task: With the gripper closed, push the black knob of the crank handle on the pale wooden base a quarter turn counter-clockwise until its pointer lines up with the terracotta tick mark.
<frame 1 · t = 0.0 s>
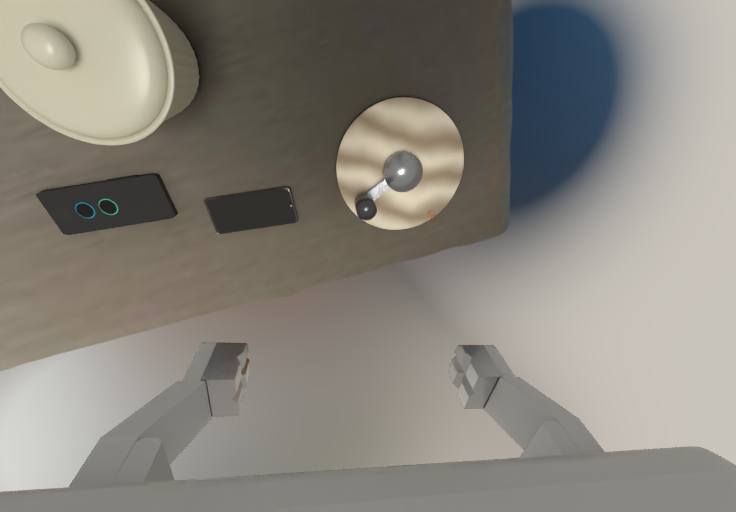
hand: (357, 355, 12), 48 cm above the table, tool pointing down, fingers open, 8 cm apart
smart home device: (114, 202, 54), on the table
smartphone: (253, 209, 57), on the table
crank handle: (388, 187, 53), point 5 cm above the table, hinge at 0.0°
canister: (155, 63, 44), on the table
dial base: (399, 168, 56), on the table
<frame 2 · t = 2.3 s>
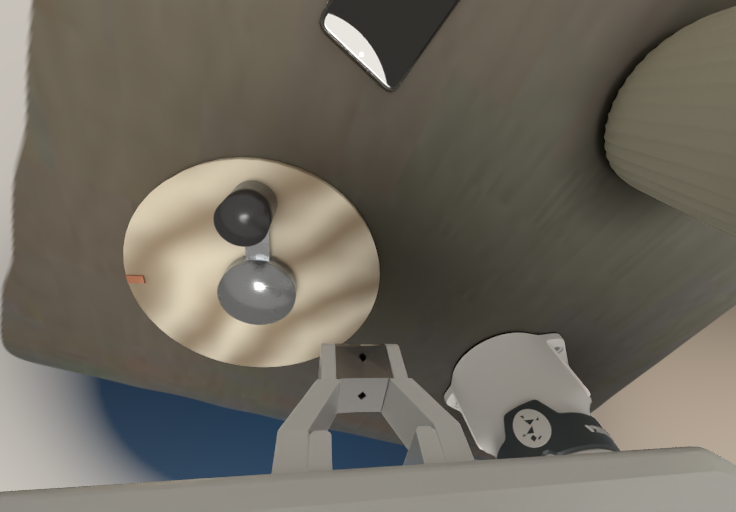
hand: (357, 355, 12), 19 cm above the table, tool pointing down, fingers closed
crank handle: (253, 268, 25), point 5 cm above the table, hinge at 0.0°
canister: (659, 109, 28), on the table
dial base: (264, 275, 31), on the table
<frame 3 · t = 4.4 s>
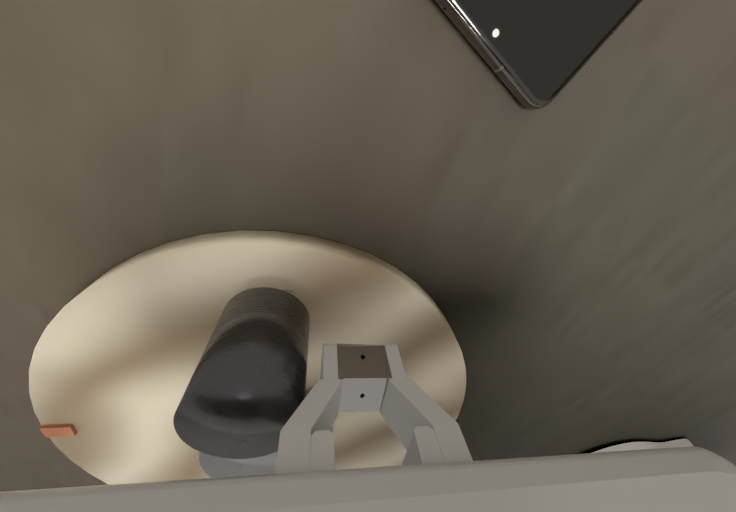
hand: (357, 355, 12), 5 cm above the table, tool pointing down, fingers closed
crank handle: (263, 437, 14), point 5 cm above the table, hinge at 0.0°, touching gripper
dial base: (278, 399, 19), on the table
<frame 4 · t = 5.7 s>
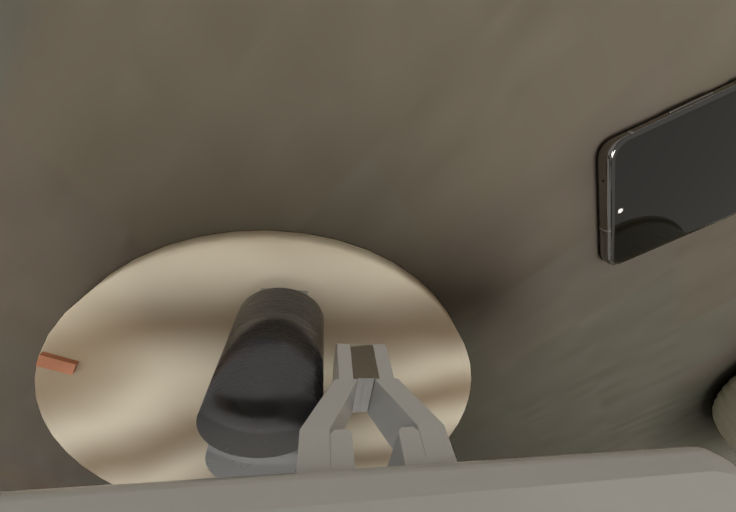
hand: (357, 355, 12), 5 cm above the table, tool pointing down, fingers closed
crank handle: (273, 436, 14), point 5 cm above the table, hinge at 25.7°, touching gripper
dial base: (282, 398, 19), on the table
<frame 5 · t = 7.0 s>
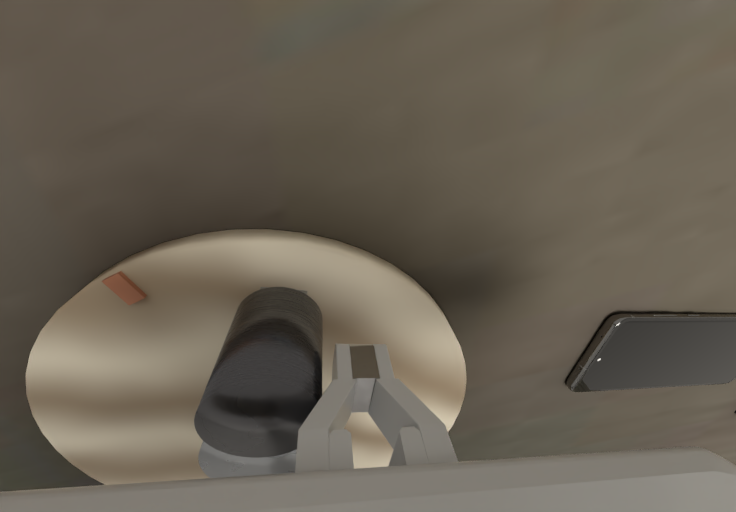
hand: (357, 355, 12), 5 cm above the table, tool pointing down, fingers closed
smartphone: (667, 344, 23), on the table
crank handle: (268, 436, 14), point 5 cm above the table, hinge at 55.1°, touching gripper
dial base: (277, 398, 19), on the table
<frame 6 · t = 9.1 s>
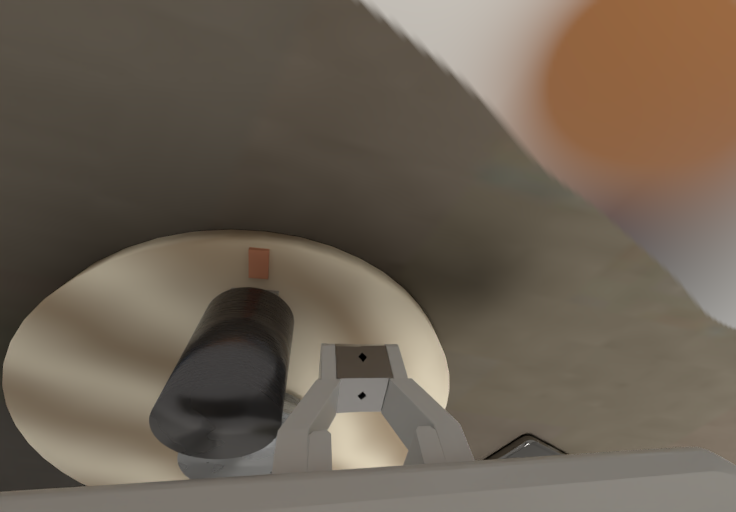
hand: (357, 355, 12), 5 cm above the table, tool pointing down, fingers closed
smartphone: (536, 467, 30), on the table
crank handle: (243, 437, 14), point 5 cm above the table, hinge at 90.5°
dial base: (261, 399, 19), on the table
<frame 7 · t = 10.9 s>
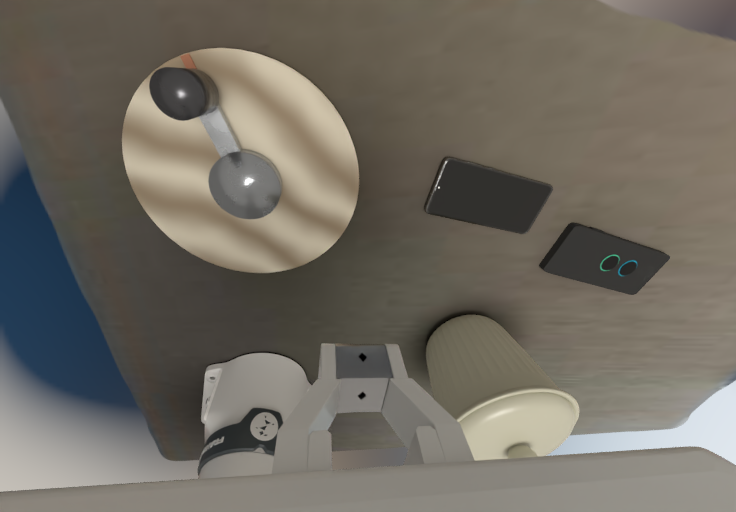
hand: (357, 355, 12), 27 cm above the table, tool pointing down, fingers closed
smart home device: (599, 257, 47), on the table
smartphone: (486, 196, 39), on the table
crank handle: (223, 155, 28), point 5 cm above the table, hinge at 90.5°
canister: (459, 336, 52), on the table
dial base: (252, 177, 34), on the table
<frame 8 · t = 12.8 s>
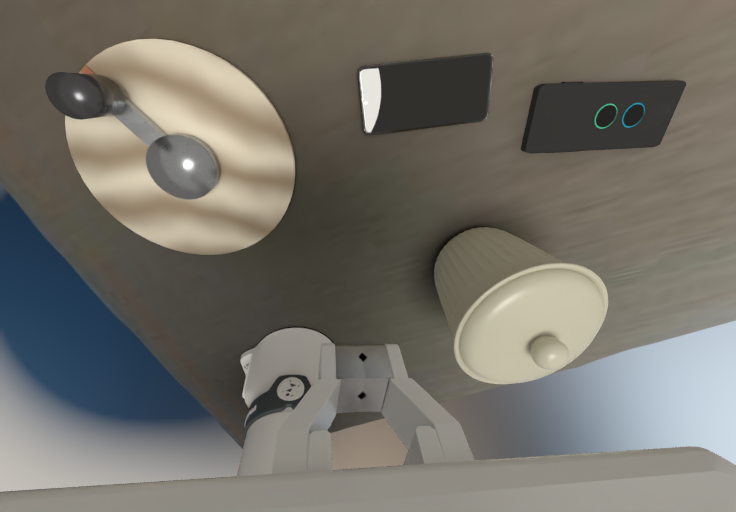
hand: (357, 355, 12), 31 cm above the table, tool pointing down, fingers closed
smart home device: (593, 116, 40), on the table
smartphone: (424, 95, 36), on the table
crank handle: (146, 143, 30), point 5 cm above the table, hinge at 90.5°
canister: (469, 259, 48), on the table
dial base: (194, 162, 36), on the table
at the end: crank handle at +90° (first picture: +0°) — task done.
